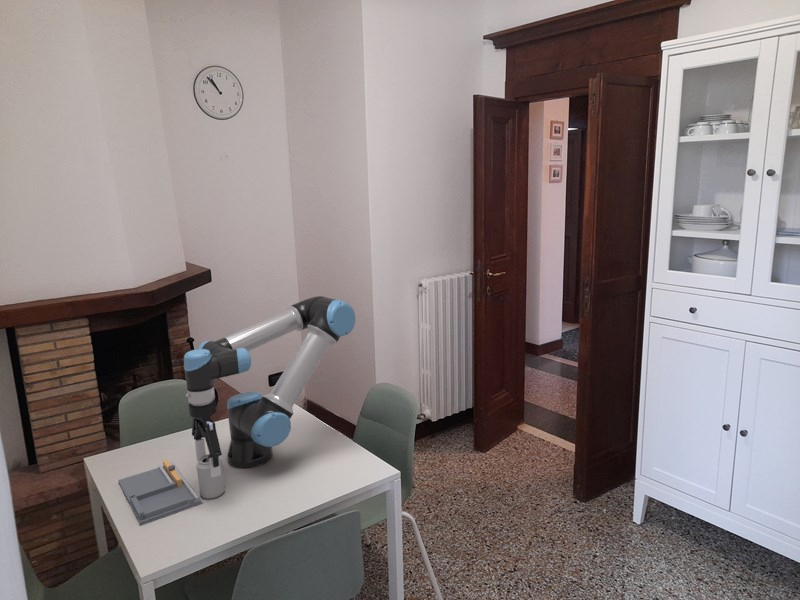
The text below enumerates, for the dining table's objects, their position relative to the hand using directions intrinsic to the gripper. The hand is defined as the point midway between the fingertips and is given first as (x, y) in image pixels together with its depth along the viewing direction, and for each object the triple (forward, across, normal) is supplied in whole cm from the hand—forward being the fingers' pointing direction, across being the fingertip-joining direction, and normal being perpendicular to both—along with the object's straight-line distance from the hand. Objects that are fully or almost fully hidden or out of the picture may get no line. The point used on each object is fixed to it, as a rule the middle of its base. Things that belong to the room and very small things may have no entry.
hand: (208, 467), depth 174 cm
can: (+9, 0, 0) cm, 9 cm away
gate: (+8, -17, -7) cm, 20 cm away
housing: (+9, -12, -13) cm, 20 cm away
